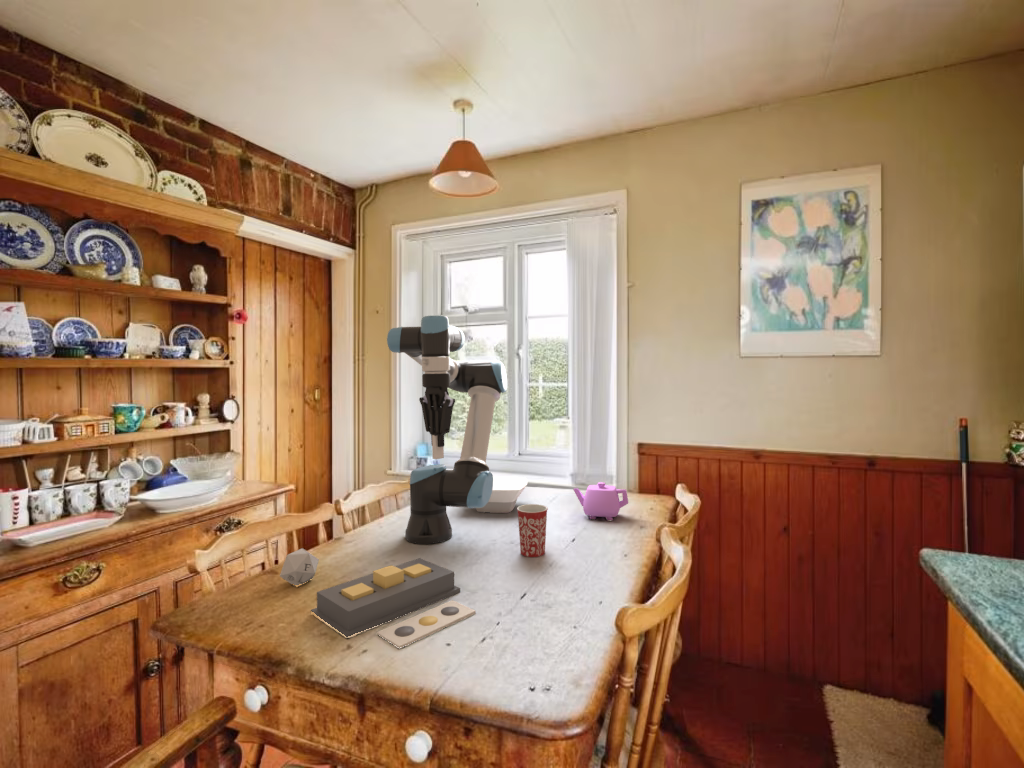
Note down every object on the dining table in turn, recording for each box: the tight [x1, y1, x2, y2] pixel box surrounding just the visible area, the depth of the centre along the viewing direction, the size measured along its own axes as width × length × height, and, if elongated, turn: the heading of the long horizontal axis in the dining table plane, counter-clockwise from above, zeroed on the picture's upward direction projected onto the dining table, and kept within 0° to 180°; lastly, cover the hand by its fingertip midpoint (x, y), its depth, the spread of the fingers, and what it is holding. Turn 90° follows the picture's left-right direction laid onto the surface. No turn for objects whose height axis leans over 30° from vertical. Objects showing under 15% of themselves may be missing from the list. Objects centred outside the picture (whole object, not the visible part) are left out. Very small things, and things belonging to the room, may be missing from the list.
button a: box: [341, 583, 374, 601], centre depth 113 cm, size 5×5×4 cm
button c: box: [402, 564, 431, 578], centre depth 124 cm, size 5×5×4 cm
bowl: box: [475, 476, 528, 514], centre depth 202 cm, size 24×25×10 cm
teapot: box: [573, 481, 629, 521], centre depth 188 cm, size 20×12×13 cm, turn 75°
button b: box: [372, 564, 404, 589], centre depth 119 cm, size 5×5×4 cm
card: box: [376, 599, 477, 648], centre depth 108 cm, size 8×20×1 cm, turn 137°
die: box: [279, 547, 320, 586], centre depth 131 cm, size 8×9×10 cm
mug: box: [516, 503, 549, 558], centre depth 152 cm, size 13×9×14 cm
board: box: [310, 557, 461, 637], centre depth 119 cm, size 16×30×5 cm, turn 137°
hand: (438, 458), depth 140 cm, fingers closed
